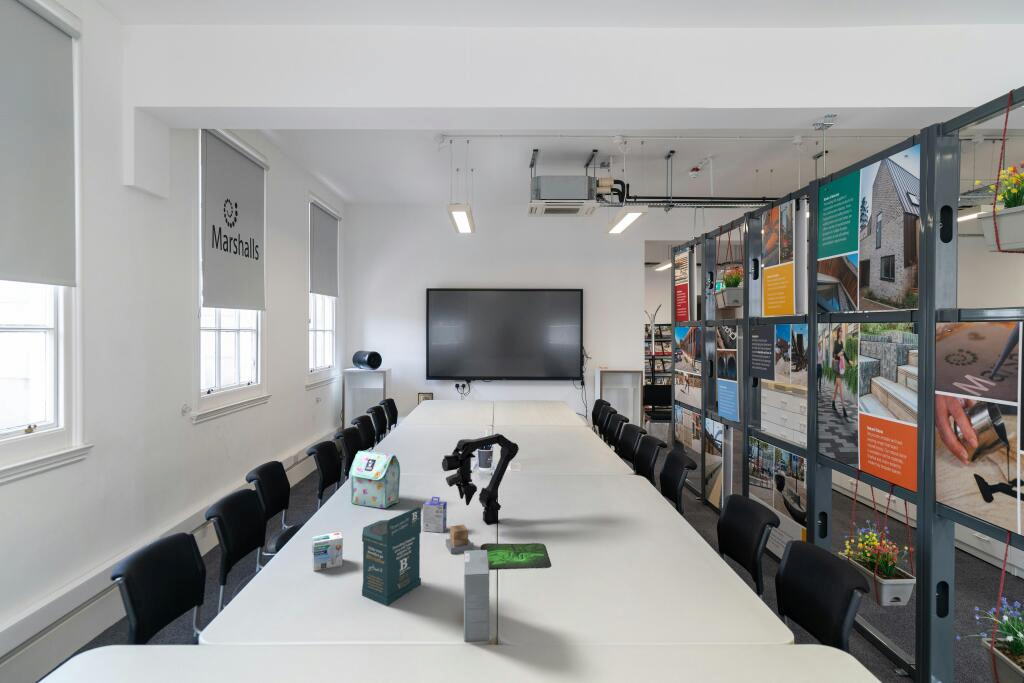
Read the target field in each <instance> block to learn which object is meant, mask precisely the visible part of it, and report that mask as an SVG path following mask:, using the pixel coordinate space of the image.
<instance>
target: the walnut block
mask: <svg viewBox="0 0 1024 683" xmlns="http://www.w3.org/2000/svg"><path fill="white" fill-rule="evenodd" d="M449 539H450V542H451V543H452V544H453V546H454V547H455V546H461V545H466V544H468V539H469V528H468V527H467V526H466V525H465V524H458V525H452V526H449Z"/></svg>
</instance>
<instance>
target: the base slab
mask: <svg viewBox="0 0 1024 683" xmlns="http://www.w3.org/2000/svg"><path fill="white" fill-rule="evenodd" d="M445 546H446V548H447V549H448V551H449V553H450V555H455V554H460V553H464V551H471V550H474V548H473V543H472V542H471V541H470V540H469V538H468V544H466V545H461V546H455V547H454V546H453V544H452V543H451V542H450V538H446V539H445Z"/></svg>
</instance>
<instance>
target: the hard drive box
mask: <svg viewBox="0 0 1024 683" xmlns="http://www.w3.org/2000/svg"><path fill="white" fill-rule="evenodd" d="M463 553H464V554H463V555H464V556H463V558H464V559H463V561H464V562H463V641H464V642H478V641H481V642H482V641H490V569H489V561H488V551H487V550H481V549H478V550H477V549H476V550H475V549H473V550H471V551H464V552H463Z"/></svg>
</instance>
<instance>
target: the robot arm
mask: <svg viewBox="0 0 1024 683" xmlns="http://www.w3.org/2000/svg"><path fill="white" fill-rule="evenodd" d="M493 445H498V446H499V447H500V451H499V452H500V453H499V455H500V457H499V460H498V462H497V464H496V467H495V469H494V471H493V474H492V476H491V479H490V481H489V484H488V485H487V486H486V487H482V488H481V491H480V493H479V494H478V502H479V503H480V505H481V506H482V508H483V511H482V521H483V523H484V524H486V525H492V524H493V525H494V524H499V523H500V520H499V511H500V510H501V508H502V505H501V504H500V503H499V502H498V497H499V495H498V493H499V492H498V491H499V488H500V485H501V483H502V481H503V479H504V476H505V473H506V472H507V470H508V467H509V464H510V462H511V461H513V459H515V458H516V455H517V454H518V453H519V450H520V449H519V444H517V443H516V442H513V441H511V440H510V439H508V438H507V437H505V435H504V434H501V433H498V432H497V433H494V434H491V435H488V436H483V437H479V438H473V439H471V438H470V439H469V438H465V439H460V440H458V442H457V443H456V446H455V447H454V449H453V451H452V453H451V454H450V455H448V454H446V455H443V459H442V462H441V467H442V468H441V469H442V470H443V471H444V472H450V471H455V470H456V473H454V474H450V475H449V476H447V477H446V478H445V480H446V484H447V485H448V487H450V488H451V487H454V485H455V486H456V487H457V489H458V495H459V498H460V500H461V499H462V500H463V499H464V500H465V505H466V506H470V503H471V501H472V499H473V497H474V496H475V494H476V492H478V486H477V485H475V484H474V483H473V479H472V474H473V470H472V459H474V458H476V455H475V454H474V452H476V451H477V450H479V449H481V448H484V447H490V446H493Z"/></svg>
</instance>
